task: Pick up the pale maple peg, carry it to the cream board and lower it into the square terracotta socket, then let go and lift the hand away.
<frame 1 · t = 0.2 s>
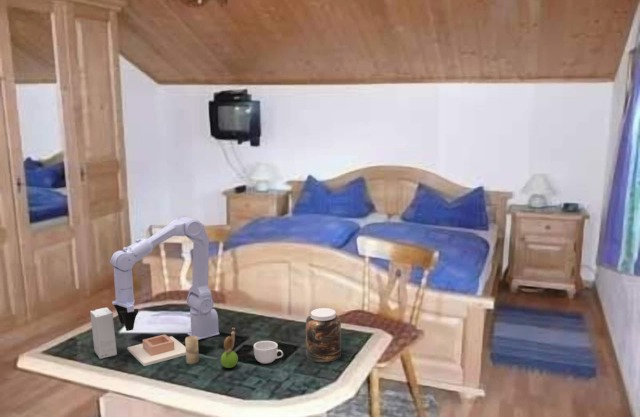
hand: (126, 326, 193), 10 cm above the table, tool pointing down, fingers open, 7 cm apart
jar: (323, 355, 193), on the table
teacup: (269, 361, 189), on the table
socket board: (158, 351, 196), on the table
maple peg: (192, 361, 189), on the table
skincare box: (105, 353, 196), on the table
snail figurine: (230, 367, 185), on the table
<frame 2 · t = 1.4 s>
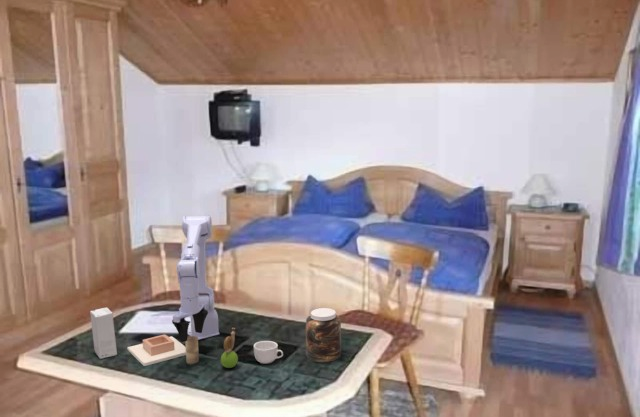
hand: (191, 336, 187), 9 cm above the table, tool pointing down, fingers open, 7 cm apart
nothing on the table moved.
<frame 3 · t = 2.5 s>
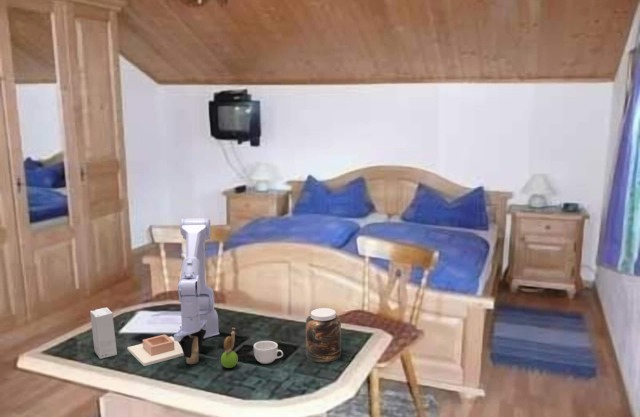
hand: (192, 354, 188), 2 cm above the table, tool pointing down, fingers closed on maple peg, 4 cm apart
maple peg: (192, 361, 189), on the table, touching gripper
everything else where it was.
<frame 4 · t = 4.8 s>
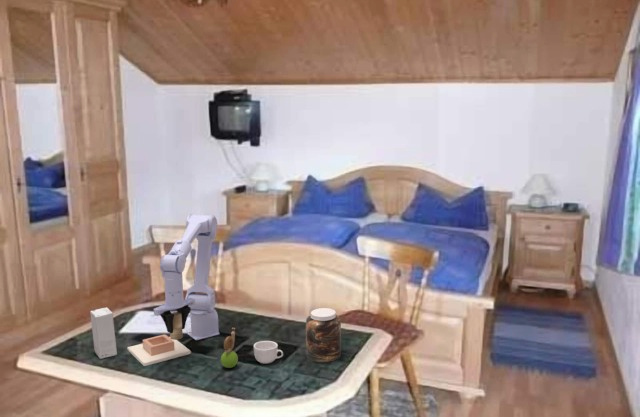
hand: (176, 330, 191), 9 cm above the table, tool pointing down, fingers closed on maple peg, 4 cm apart
maple peg: (176, 337, 191), point 7 cm above the table, touching gripper
everything else where it was.
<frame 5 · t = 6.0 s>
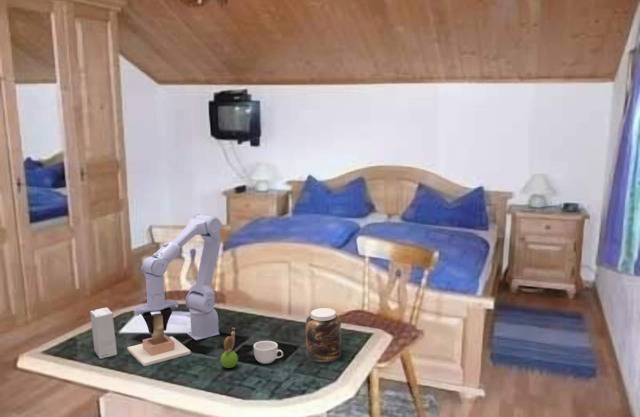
hand: (157, 331, 195), 7 cm above the table, tool pointing down, fingers closed on maple peg, 4 cm apart
maple peg: (158, 338, 196), point 5 cm above the table, touching gripper
everything else where it was.
when the fingers open (5 cm above the table, at t = 6.9 s): maple peg drops 1 cm, resting on socket board.
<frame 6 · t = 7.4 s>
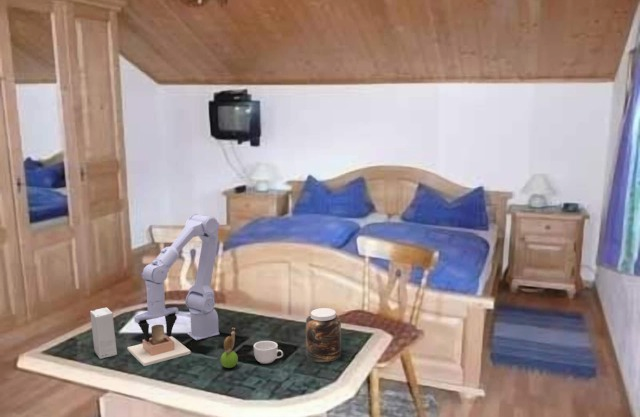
hand: (158, 338, 196), 5 cm above the table, tool pointing down, fingers open, 7 cm apart
maple peg: (158, 349, 196), point 1 cm above the table, touching socket board
everything else where it was.
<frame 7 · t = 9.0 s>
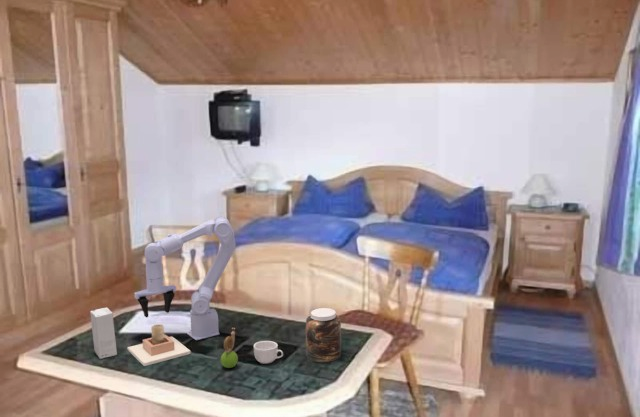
hand: (156, 314, 206), 9 cm above the table, tool pointing down, fingers open, 7 cm apart
nothing on the table moved.
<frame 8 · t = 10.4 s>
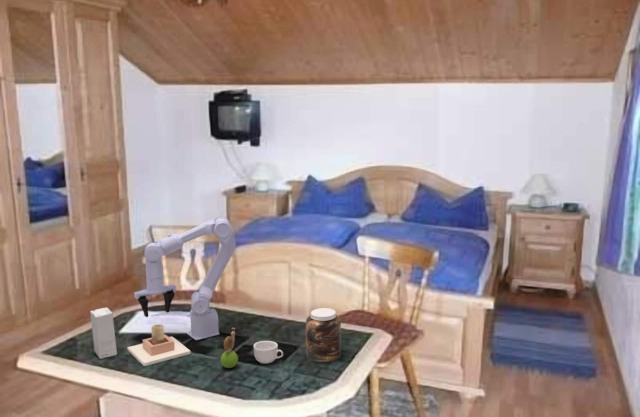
hand: (156, 313, 206), 9 cm above the table, tool pointing down, fingers open, 7 cm apart
nothing on the table moved.
at the end: maple peg 0.0 cm off-centre on the socket board, point 1.0 cm above the socket board's base; maple peg tilted 0°; the gripper is holding nothing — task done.
